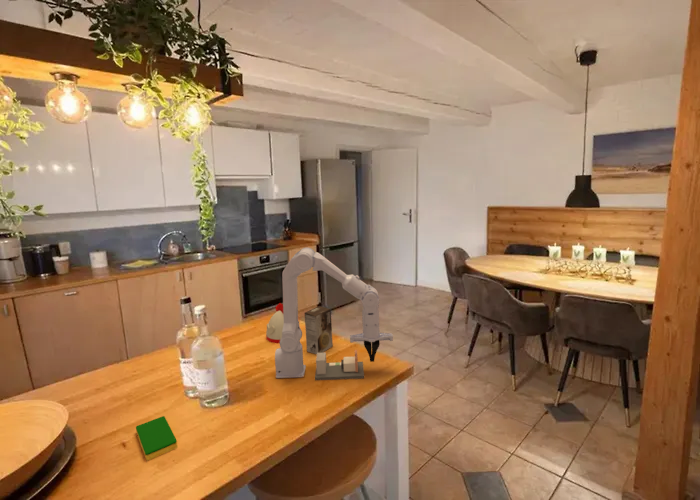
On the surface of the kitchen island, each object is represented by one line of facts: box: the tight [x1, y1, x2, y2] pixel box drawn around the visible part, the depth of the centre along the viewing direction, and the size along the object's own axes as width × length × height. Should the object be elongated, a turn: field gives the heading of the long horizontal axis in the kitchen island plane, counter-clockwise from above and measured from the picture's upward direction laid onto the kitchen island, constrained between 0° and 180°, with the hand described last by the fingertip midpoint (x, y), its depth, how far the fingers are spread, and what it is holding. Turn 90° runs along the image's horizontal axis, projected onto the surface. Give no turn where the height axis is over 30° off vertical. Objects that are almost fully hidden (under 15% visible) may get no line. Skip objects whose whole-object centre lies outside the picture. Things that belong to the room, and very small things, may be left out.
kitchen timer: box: [265, 302, 284, 344], centre depth 160 cm, size 14×14×15 cm
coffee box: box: [304, 305, 334, 355], centre depth 146 cm, size 9×6×16 cm
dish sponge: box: [135, 415, 178, 461], centre depth 97 cm, size 7×14×2 cm, turn 38°
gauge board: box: [314, 351, 365, 381], centre depth 129 cm, size 16×10×6 cm, turn 91°
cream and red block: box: [341, 349, 359, 372], centre depth 129 cm, size 6×8×5 cm
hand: (372, 360), depth 129 cm, fingers closed
